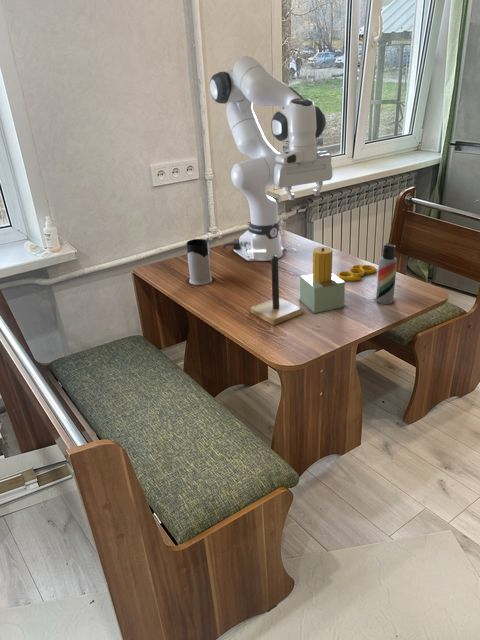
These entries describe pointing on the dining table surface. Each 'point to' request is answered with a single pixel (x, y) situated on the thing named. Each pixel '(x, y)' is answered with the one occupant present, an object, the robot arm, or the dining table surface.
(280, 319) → the peg stand
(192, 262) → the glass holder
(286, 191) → the robot arm
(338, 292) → the display block
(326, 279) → the slatted lidded canister
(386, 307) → the dining table surface
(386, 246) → the lotion bottle
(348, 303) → the dining table surface
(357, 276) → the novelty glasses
